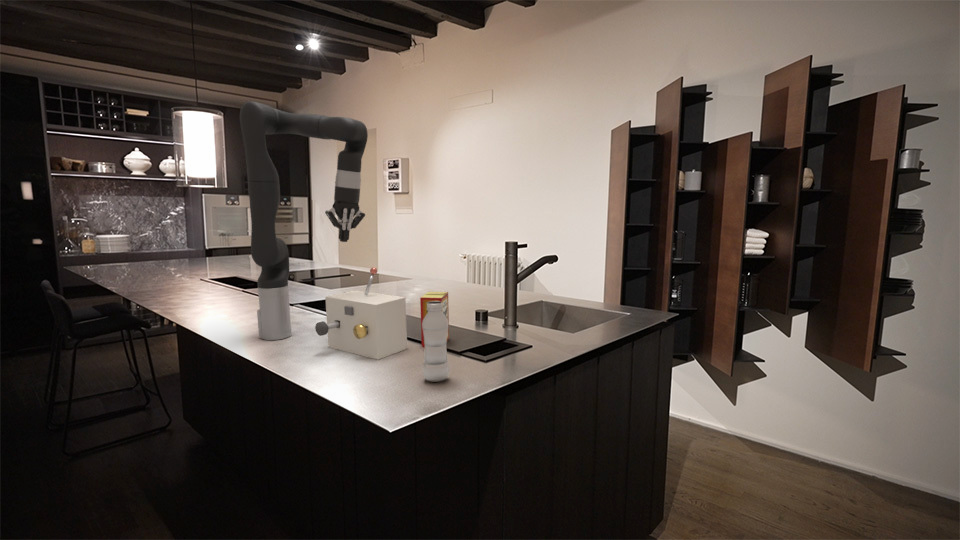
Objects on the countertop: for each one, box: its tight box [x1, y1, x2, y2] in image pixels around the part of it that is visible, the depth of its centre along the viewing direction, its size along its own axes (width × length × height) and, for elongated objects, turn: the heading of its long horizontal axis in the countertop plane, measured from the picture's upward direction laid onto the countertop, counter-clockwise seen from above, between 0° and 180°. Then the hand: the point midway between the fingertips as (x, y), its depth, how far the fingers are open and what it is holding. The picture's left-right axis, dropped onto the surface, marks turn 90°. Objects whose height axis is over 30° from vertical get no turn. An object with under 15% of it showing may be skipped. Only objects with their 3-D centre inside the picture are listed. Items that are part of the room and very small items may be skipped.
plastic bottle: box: [422, 301, 450, 383], centre depth 120 cm, size 6×7×20 cm
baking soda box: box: [419, 291, 450, 348], centre depth 152 cm, size 10×6×16 cm
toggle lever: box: [364, 267, 378, 296], centre depth 148 cm, size 2×2×9 cm
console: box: [324, 289, 408, 361], centre depth 147 cm, size 22×13×16 cm, turn 56°
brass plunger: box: [353, 324, 368, 339], centre depth 140 cm, size 4×7×4 cm, turn 146°
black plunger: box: [314, 320, 340, 337], centre depth 144 cm, size 4×7×4 cm, turn 146°
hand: (343, 241), depth 151 cm, fingers closed
